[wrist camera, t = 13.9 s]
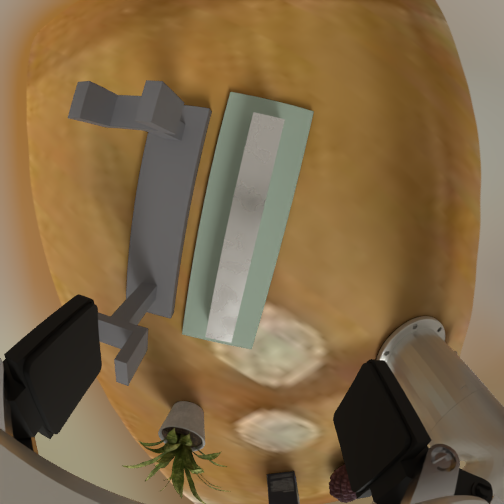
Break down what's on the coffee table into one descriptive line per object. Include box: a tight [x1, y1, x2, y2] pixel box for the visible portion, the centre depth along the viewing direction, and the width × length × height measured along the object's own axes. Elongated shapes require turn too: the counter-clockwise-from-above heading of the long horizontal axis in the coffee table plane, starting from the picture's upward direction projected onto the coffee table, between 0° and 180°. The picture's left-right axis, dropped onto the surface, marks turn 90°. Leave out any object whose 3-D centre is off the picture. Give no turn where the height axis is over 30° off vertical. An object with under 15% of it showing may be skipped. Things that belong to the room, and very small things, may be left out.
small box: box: [267, 471, 300, 504], centre depth 40 cm, size 11×6×10 cm, turn 9°
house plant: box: [124, 401, 231, 504], centre depth 30 cm, size 14×14×16 cm
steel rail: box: [205, 112, 285, 343], centre depth 28 cm, size 3×24×3 cm, turn 167°
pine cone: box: [329, 463, 357, 503], centre depth 40 cm, size 18×10×10 cm, turn 178°
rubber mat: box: [182, 92, 314, 349], centre depth 29 cm, size 9×29×1 cm, turn 167°
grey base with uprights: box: [68, 81, 212, 386], centre depth 22 cm, size 6×24×16 cm, turn 167°
